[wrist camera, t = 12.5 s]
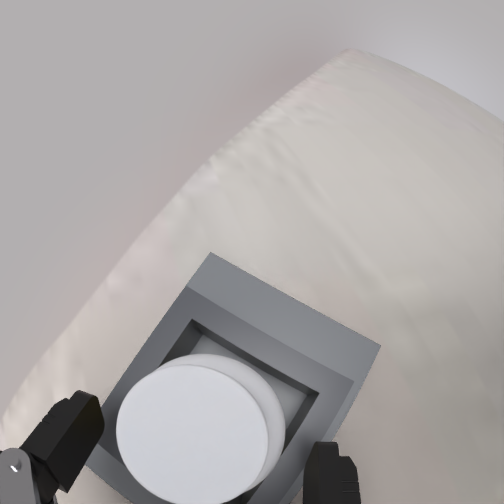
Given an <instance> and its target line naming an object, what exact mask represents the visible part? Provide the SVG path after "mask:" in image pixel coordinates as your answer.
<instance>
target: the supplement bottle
mask: <svg viewBox="0 0 504 504" xmlns="http://www.w3.org/2000/svg"><path fill="white" fill-rule="evenodd" d="M116 437H117V444H118V448H119V451H120V454H121V457H122V459H123V461H124V463H125V465H126V467H127V468H128V470H129V471H130V473H131V474H132V475H133V477H134V478H135V479H136V480H137V481H138V482H139V483H140V484H141V485H142V486H143V487H144V488H146V489H147V490H148V491H150V492H151V493H153V494H154V495H156V496H158V497H160V498H162V499H164V500H166V501H169V502H171V503H175V504H221V503H224V502H227V501H230V500H232V499H234V498H236V497H237V496H239V495H240V494H242V493H244V492H246V491H248V490H250V489H252V488H253V487H255V486H256V485H258V484H259V483H260V482H261V481H263V480H264V479H265V478H266V477H267V476H268V475H269V474H270V472H271V471H272V470H273V469H274V467H275V466H276V464H277V462H278V460H279V458H280V456H281V453H282V450H283V447H284V441H285V419H284V413H283V410H282V407H281V404H280V402H279V400H278V398H277V396H276V394H275V392H274V391H273V389H272V388H271V386H270V385H269V384H268V383H267V382H266V381H265V380H264V379H263V378H262V377H261V376H260V375H259V374H258V373H257V372H256V371H254V370H253V369H251V368H250V367H248V366H247V365H245V364H243V363H241V362H239V361H237V360H234V359H231V358H228V357H224V356H220V355H214V354H192V355H187V356H183V357H179V358H176V359H173V360H171V361H169V362H167V363H165V364H163V365H162V366H160V367H159V368H157V369H156V370H155V371H154V372H152V373H150V374H148V375H147V376H145V377H144V378H142V379H141V380H140V381H139V382H137V383H136V384H135V385H134V386H133V387H132V389H131V390H130V391H129V392H128V394H127V395H126V397H125V398H124V400H123V402H122V405H121V407H120V410H119V413H118V417H117V425H116Z"/></svg>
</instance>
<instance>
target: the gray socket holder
mask: <svg viewBox="0 0 504 504" xmlns="http://www.w3.org/2000/svg"><path fill="white" fill-rule="evenodd" d="M380 347H381V345H379V344H377V343H375V342H374V341H372V340H370V339H368V338H366V337H364V336H362V335H360V334H358V333H357V332H355V331H353V330H351V329H349V328H347V327H345V326H344V325H342V324H340V323H338V322H336V321H334V320H332V319H331V318H329V317H327V316H325V315H323V314H321V313H320V312H318V311H316V310H314V309H312V308H310V307H308V306H307V305H305V304H303V303H301V302H299V301H298V300H296V299H294V298H292V297H290V296H288V295H287V294H285V293H283V292H281V291H279V290H278V289H276V288H274V287H272V286H270V285H269V284H267V283H265V282H263V281H261V280H260V279H258V278H256V277H254V276H252V275H251V274H249V273H247V272H245V271H243V270H242V269H240V268H238V267H236V266H235V265H233V264H231V263H229V262H227V261H226V260H224V259H222V258H220V257H219V256H217V255H215V254H213V253H211V252H210V254H209V255H208V256H207V258H206V259H205V260H204V262H203V263H202V264H201V266H200V267H199V268H198V270H197V271H196V273H195V274H194V275H193V277H192V278H191V279H190V281H189V282H188V283H187V285H186V286H185V288H184V289H183V290H182V292H181V293H180V295H179V296H178V297H177V299H176V300H175V301H174V303H173V304H172V306H171V307H170V308H169V310H168V311H167V313H166V314H165V315H164V317H163V318H162V320H161V321H160V322H159V324H158V325H157V327H156V328H155V330H154V331H153V332H152V334H151V335H150V337H149V338H148V340H147V341H146V342H145V344H144V345H143V347H142V348H141V350H140V351H139V352H138V354H137V355H136V357H135V358H134V360H133V361H132V363H131V364H130V365H129V367H128V368H127V370H126V371H125V373H124V374H123V376H122V377H121V379H120V380H119V382H118V383H117V384H116V386H115V387H114V389H113V390H112V392H111V393H110V395H109V396H108V398H107V399H106V401H105V402H104V404H103V405H102V407H101V411H102V414H103V418H104V421H105V428H104V432H103V434H102V436H101V438H100V440H99V441H98V443H97V444H96V446H95V448H94V449H93V451H92V453H91V454H90V456H89V458H88V459H87V461H86V463H85V465H86V466H87V467H89V468H90V469H91V470H92V471H93V472H94V473H95V474H97V475H98V476H99V477H100V478H101V479H103V480H104V481H105V482H106V483H107V484H109V485H110V486H111V487H112V488H114V489H115V490H116V491H117V492H119V493H120V494H121V495H123V496H124V497H125V498H127V499H128V500H129V501H131V502H132V503H133V504H175V503H171V502H169V501H166V500H164V499H162V498H160V497H158V496H156V495H154V494H153V493H151V492H150V491H148V490H147V489H146V488H144V487H143V486H142V485H141V484H140V483H139V482H138V481H137V480H136V479H135V478H134V477H133V475H132V474H131V473H130V471H129V470H128V468H127V467H126V465H125V463H124V461H123V459H122V457H121V454H120V451H119V448H118V444H117V437H116V425H117V417H118V413H119V410H120V407H121V405H122V402H123V400H124V398H125V397H126V395H127V394H128V392H129V391H130V390H131V389H132V387H133V386H134V385H135V384H136V383H137V382H139V381H140V380H141V379H142V378H144V377H145V376H147V375H148V374H150V373H152V372H154V371H155V370H156V369H157V368H159V367H160V366H162V365H163V364H165V363H167V362H169V361H171V360H173V359H176V358H179V357H183V356H187V355H192V354H214V355H220V356H224V357H228V358H231V359H234V360H237V361H239V362H241V363H243V364H245V365H247V366H248V367H250V368H251V369H253V370H254V371H256V372H257V373H258V374H259V375H260V376H261V377H262V378H263V379H264V380H265V381H266V382H267V383H268V384H269V385H270V386H271V388H272V389H273V391H274V392H275V394H276V396H277V398H278V400H279V402H280V404H281V407H282V410H283V413H284V419H285V441H284V447H283V450H282V453H281V456H280V458H279V460H278V462H277V464H276V466H275V467H274V469H273V470H272V471H271V472H270V474H269V475H268V476H267V477H266V478H265V479H264V480H263V481H261V482H260V483H259V484H258V485H256V486H255V487H253V488H252V489H250V490H248V491H246V492H244V493H242V494H240V495H239V496H237V497H236V498H234V499H232V500H230V501H227V502H224V503H221V504H290V502H291V501H292V500H293V498H294V497H295V496H296V494H297V493H298V491H299V490H300V489H301V487H302V486H303V475H304V468H305V464H306V462H307V459H308V457H309V455H310V452H311V450H312V448H313V445H314V443H315V442H316V441H321V442H331V441H332V439H333V438H334V436H335V434H336V432H337V431H338V429H339V427H340V426H341V424H342V422H343V420H344V419H345V417H346V415H347V413H348V411H349V409H350V408H351V406H352V404H353V402H354V400H355V398H356V396H357V394H358V392H359V390H360V389H361V387H362V385H363V383H364V381H365V379H366V377H367V374H368V372H369V370H370V368H371V366H372V364H373V362H374V360H375V358H376V355H377V353H378V351H379V349H380Z"/></svg>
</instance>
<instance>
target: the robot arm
mask: <svg viewBox="0 0 504 504" xmlns="http://www.w3.org/2000/svg"><path fill="white" fill-rule="evenodd" d="M104 428H105V421H104V418H103V414H102V411H101V407H100V404H99V400H98V398H97V397H96V396H94V395H91V394H89V393H86V392H83V391H81V390H78V391H76V392H75V393H74V394H73V396H72V397H71V398H70V399H67V398H64V399H63V400H61V401H59V402H58V403H56V404H54V406H53V407H52V408H51V409H50V411H49V412H48V414H47V415H45V417H44V418H43V419H42V422H40V423H39V424H38V425H37V427H36V428H35V429H34V430H33V432H32V433H31V434H30V436H29V437H28V438H27V439H26V441H25V442H24V443H23V444H22V446H21V447H19V448H9V449H6V450H4V451H0V504H58V503H57V499H56V495H55V493H56V491H57V490H58V489H60V490H62V491H64V492H66V493H68V492H69V490H70V488H71V486H72V485H73V483H74V481H75V480H76V478H77V476H78V475H79V473H80V471H81V469H82V468H83V466H84V464H85V463H86V461H87V459H88V458H89V456H90V454H91V453H92V451H93V449H94V448H95V446H96V444H97V443H98V441H99V440H100V438H101V436H102V434H103V432H104ZM303 504H361V498H360V492H359V482H358V475H357V468H356V466H355V464H354V463H353V461H352V460H351V458H350V457H349V456H339V450H338V444H337V442H321V441H316V442H315V443H314V445H313V448H312V450H311V452H310V455H309V457H308V459H307V462H306V464H305V468H304V475H303Z"/></svg>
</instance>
